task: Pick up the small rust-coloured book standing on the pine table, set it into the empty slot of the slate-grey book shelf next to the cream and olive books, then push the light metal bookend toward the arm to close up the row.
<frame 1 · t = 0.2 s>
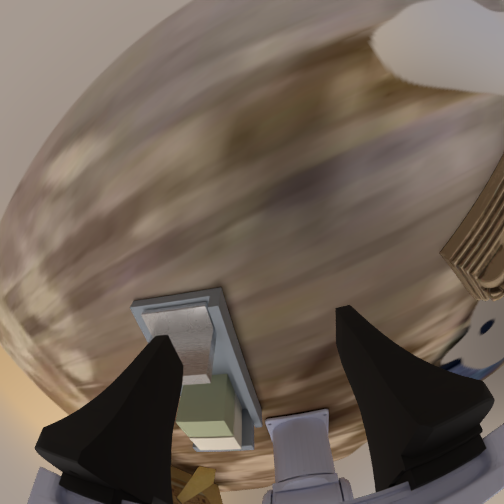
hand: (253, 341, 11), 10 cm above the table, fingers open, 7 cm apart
picture frame: (193, 468, 40), on the table
shelf: (206, 367, 26), on the table
cream book: (219, 402, 27), point 1 cm above the table, touching shelf
bookend: (172, 344, 19), point 4 cm above the table, slide at 0.0 cm
olive book: (210, 384, 25), point 1 cm above the table, touching shelf
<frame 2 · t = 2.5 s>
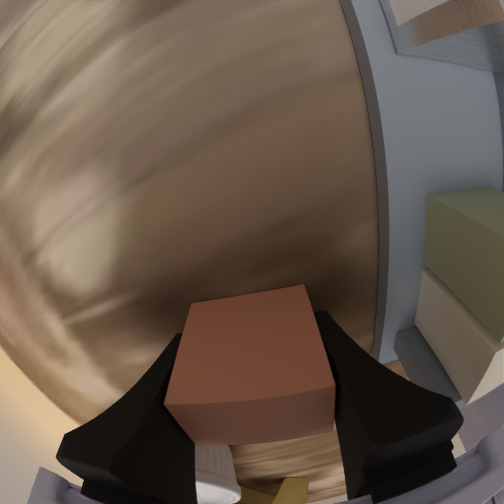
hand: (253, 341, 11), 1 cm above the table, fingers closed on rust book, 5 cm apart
rust book: (253, 321, 12), on the table, touching gripper
picture frame: (269, 482, 24), on the table
shelf: (449, 182, 10), on the table
ramekin: (173, 437, 18), on the table
cream book: (452, 287, 11), point 1 cm above the table, touching shelf
bookend: (483, 15, 3), point 4 cm above the table, slide at 0.0 cm
olive book: (461, 223, 9), point 1 cm above the table, touching shelf
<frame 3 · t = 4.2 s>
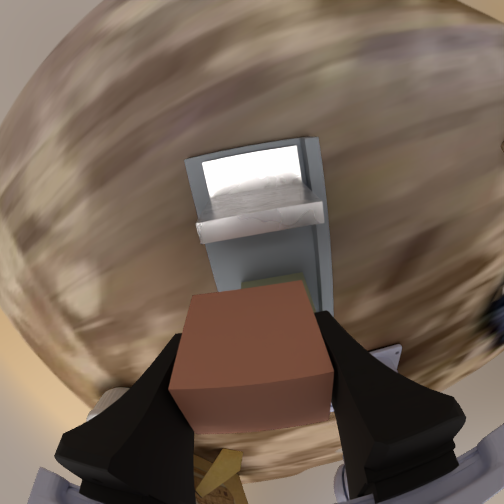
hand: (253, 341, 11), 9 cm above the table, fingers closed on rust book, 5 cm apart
rust book: (251, 314, 13), point 7 cm above the table, touching gripper
picture frame: (214, 452, 34), on the table
shelf: (270, 269, 20), on the table
ramekin: (139, 406, 29), on the table
bookend: (254, 186, 14), point 4 cm above the table, slide at 0.0 cm
olive book: (274, 294, 20), point 1 cm above the table, touching shelf
when the fingers open (4 cm above the table, at t = 5.8 s): rust book drops 1 cm, resting on shelf.
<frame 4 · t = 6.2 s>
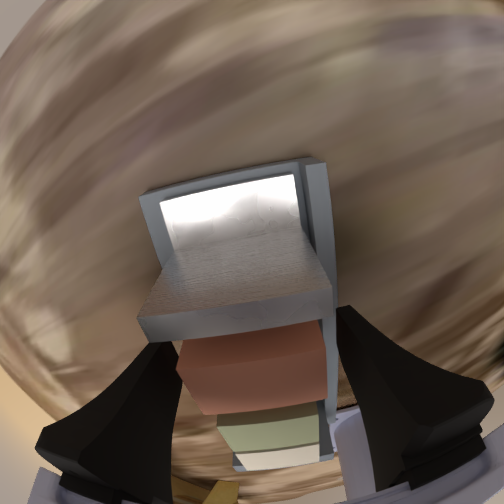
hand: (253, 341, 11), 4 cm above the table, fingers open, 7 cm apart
rust book: (254, 302, 14), point 1 cm above the table, touching shelf
picture frame: (210, 482, 30), on the table
shelf: (261, 327, 16), on the table
cream book: (274, 389, 17), point 1 cm above the table, touching shelf
bookend: (229, 244, 10), point 4 cm above the table, slide at 0.0 cm
olive book: (266, 357, 16), point 1 cm above the table, touching shelf
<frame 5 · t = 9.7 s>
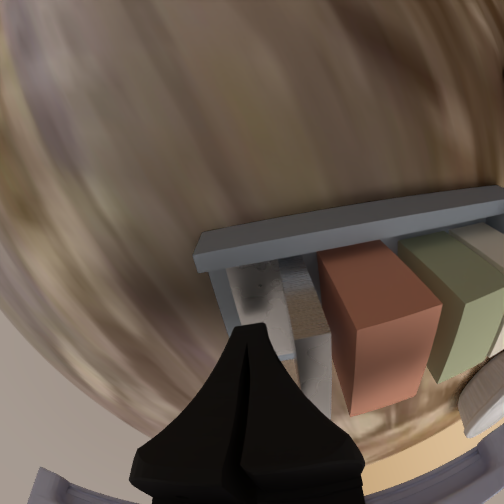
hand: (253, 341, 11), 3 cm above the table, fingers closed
rust book: (349, 289, 13), point 1 cm above the table, touching shelf
shelf: (386, 270, 14), on the table
ramekin: (485, 376, 21), on the table
cream book: (462, 261, 12), point 1 cm above the table, touching shelf
bookend: (277, 346, 11), point 4 cm above the table, slide at 0.6 cm, touching gripper
olive book: (419, 273, 13), point 1 cm above the table, touching shelf
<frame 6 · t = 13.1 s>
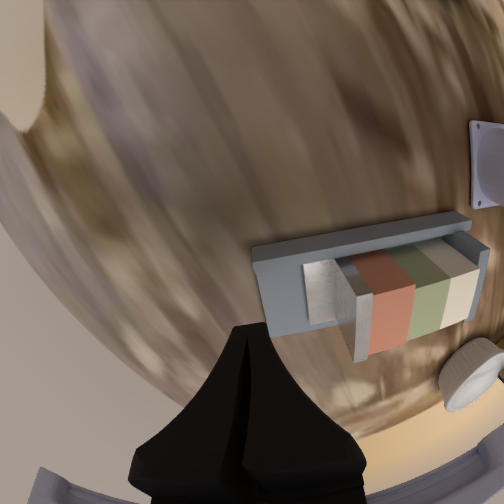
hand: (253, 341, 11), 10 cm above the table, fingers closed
rust book: (363, 279, 20), point 1 cm above the table, touching bookend, olive book, shelf
shelf: (369, 271, 21), on the table
ramekin: (462, 359, 28), on the table
cream book: (424, 265, 20), point 1 cm above the table, touching olive book, shelf
bookend: (335, 309, 18), point 4 cm above the table, slide at 3.0 cm, touching rust book
olive book: (395, 272, 20), point 1 cm above the table, touching cream book, rust book, shelf
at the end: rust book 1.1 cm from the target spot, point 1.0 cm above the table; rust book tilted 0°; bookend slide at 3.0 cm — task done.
